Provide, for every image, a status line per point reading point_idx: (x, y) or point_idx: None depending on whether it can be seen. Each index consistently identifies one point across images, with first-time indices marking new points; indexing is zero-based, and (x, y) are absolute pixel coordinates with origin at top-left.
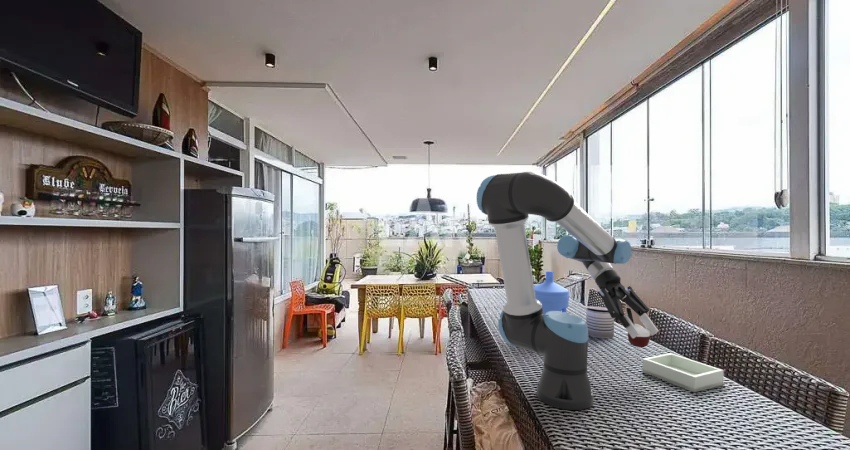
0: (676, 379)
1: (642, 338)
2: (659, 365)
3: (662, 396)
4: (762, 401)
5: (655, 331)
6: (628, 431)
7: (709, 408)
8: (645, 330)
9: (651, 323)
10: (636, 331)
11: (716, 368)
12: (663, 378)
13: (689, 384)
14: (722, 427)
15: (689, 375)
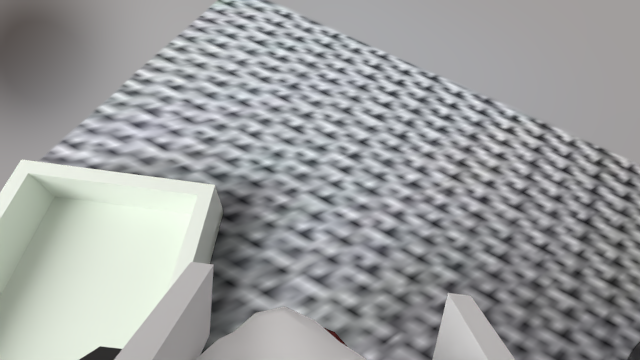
0: None
1: (338, 340)
2: None
3: (354, 252)
4: (132, 93)
5: (210, 284)
6: (621, 192)
7: (310, 145)
8: (287, 338)
9: (182, 316)
10: (480, 310)
11: (16, 181)
12: None
13: (216, 218)
14: (388, 99)
15: (210, 203)
